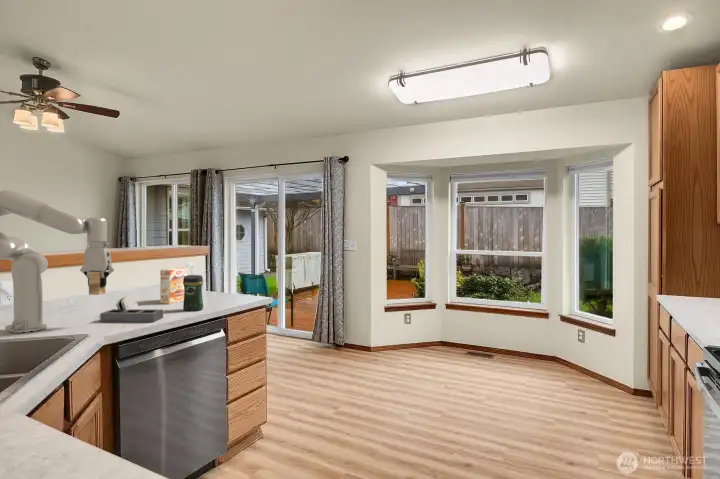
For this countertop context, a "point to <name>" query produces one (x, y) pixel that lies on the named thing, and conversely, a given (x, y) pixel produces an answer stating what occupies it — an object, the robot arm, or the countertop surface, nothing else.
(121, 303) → the hinge
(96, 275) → the peg
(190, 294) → the coffee jar
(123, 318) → the rail
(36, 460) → the countertop surface
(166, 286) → the coffeecake box
